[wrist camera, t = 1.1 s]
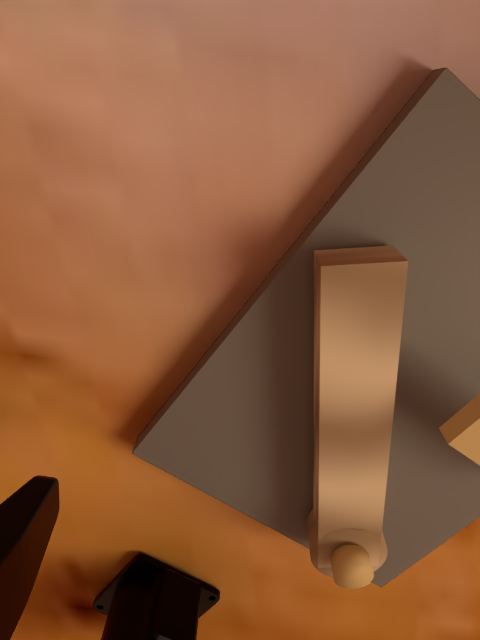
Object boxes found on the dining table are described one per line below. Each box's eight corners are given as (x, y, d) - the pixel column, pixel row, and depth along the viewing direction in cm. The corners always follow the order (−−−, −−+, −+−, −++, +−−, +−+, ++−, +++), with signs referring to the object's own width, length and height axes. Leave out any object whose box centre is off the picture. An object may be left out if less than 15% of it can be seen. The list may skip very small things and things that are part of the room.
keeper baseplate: (376, 569, 29) (399, 654, 25) (137, 438, 25) (111, 512, 20) (703, 326, 21) (826, 387, 17) (433, 69, 17) (501, 57, 12)
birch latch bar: (375, 545, 26) (384, 578, 24) (306, 547, 26) (310, 580, 24) (402, 244, 18) (419, 260, 16) (304, 250, 18) (310, 266, 17)
